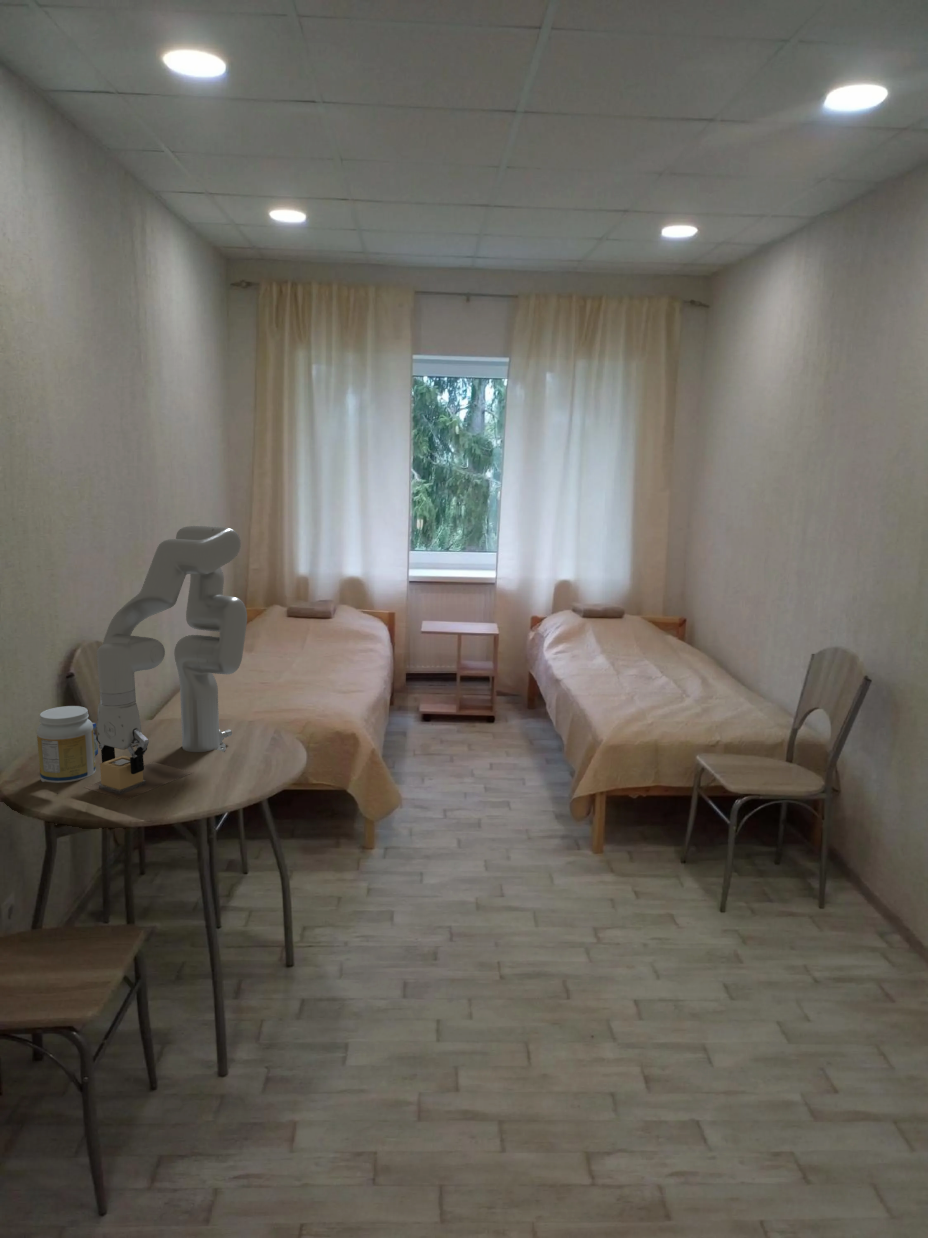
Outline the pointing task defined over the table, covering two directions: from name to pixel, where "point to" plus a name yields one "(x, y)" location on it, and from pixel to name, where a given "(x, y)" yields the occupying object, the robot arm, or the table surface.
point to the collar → (119, 774)
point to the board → (148, 780)
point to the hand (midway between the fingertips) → (123, 768)
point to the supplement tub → (65, 744)
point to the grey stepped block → (124, 790)
